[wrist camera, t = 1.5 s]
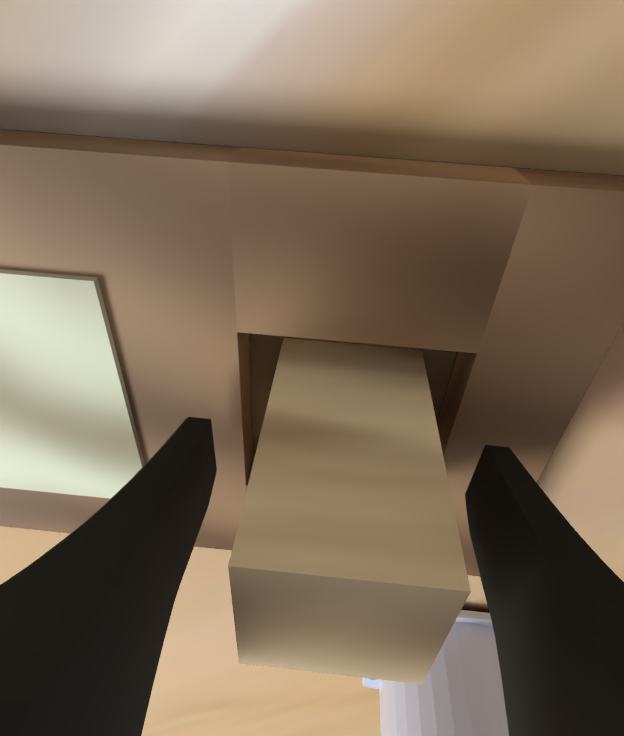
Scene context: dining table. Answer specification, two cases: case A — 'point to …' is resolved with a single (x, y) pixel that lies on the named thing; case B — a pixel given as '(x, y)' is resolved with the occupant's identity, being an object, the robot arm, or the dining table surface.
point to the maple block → (347, 520)
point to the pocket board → (280, 303)
